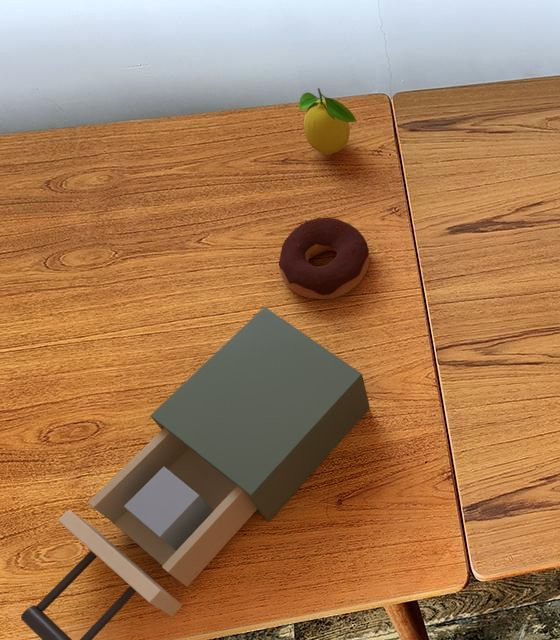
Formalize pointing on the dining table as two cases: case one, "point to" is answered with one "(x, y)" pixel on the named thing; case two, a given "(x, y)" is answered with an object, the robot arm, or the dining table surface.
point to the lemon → (325, 123)
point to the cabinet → (266, 409)
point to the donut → (332, 276)
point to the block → (169, 508)
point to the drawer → (150, 531)
